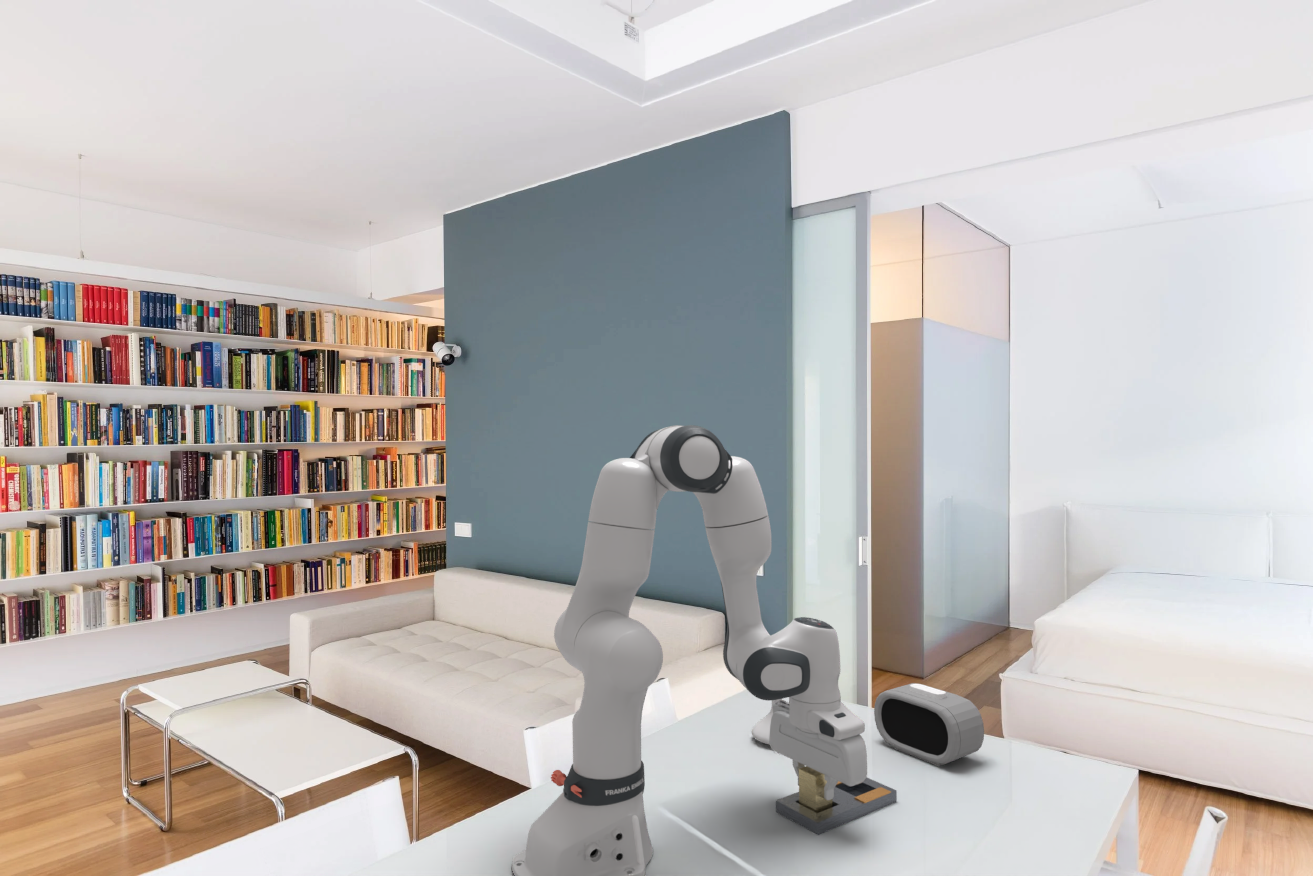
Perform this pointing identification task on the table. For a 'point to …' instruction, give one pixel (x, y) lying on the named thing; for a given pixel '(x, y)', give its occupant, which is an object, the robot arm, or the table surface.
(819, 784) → the brass block
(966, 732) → the alarm clock
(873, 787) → the rail
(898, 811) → the table surface
